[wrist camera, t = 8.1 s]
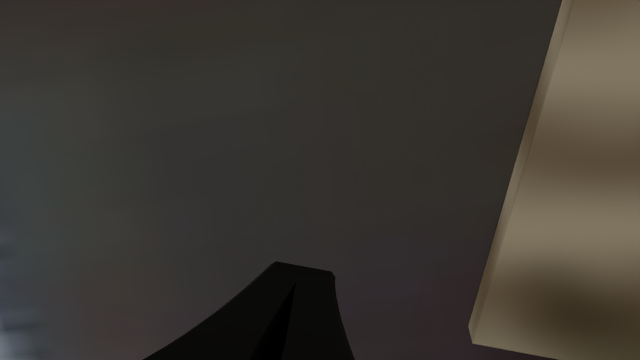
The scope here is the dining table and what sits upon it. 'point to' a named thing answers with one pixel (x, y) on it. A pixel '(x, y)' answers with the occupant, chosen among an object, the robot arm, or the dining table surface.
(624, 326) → the board
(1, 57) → the dining table surface
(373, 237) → the dining table surface
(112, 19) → the dining table surface
